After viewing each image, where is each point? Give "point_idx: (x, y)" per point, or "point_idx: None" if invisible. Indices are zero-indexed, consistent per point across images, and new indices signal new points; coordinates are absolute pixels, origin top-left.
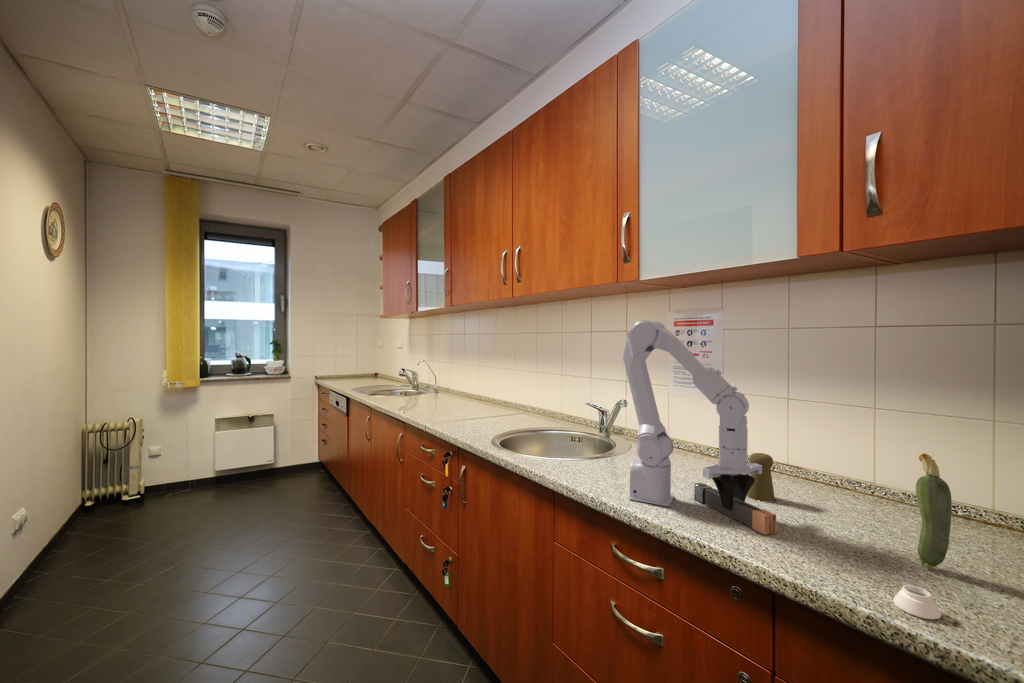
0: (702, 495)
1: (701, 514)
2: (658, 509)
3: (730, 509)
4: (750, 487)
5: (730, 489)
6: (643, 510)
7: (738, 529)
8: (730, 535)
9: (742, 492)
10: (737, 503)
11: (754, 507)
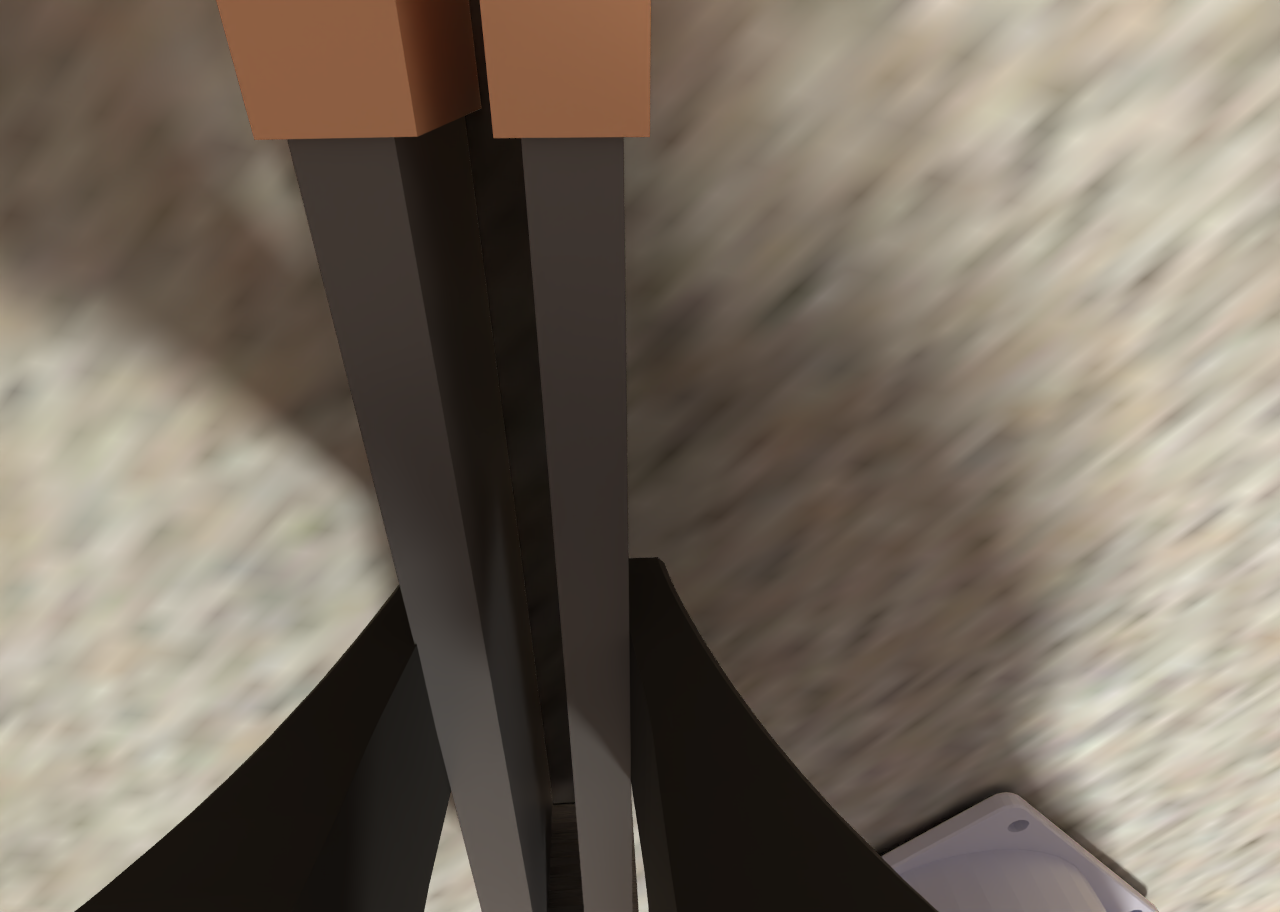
0: (636, 893)
1: (856, 629)
2: (1125, 762)
3: (645, 561)
4: (80, 909)
5: (823, 856)
6: (1259, 762)
7: (823, 174)
8: (1140, 11)
9: (362, 796)
10: (612, 566)
11: (409, 326)
